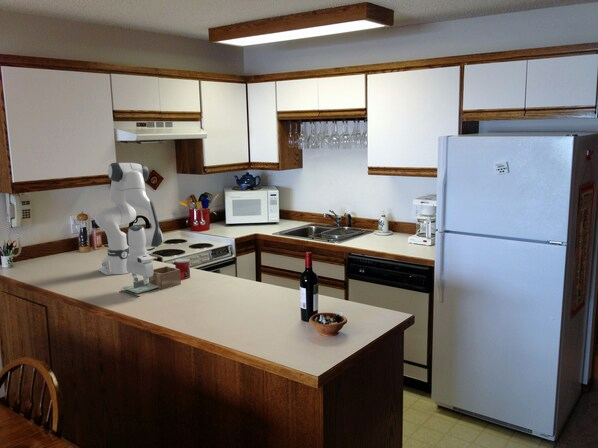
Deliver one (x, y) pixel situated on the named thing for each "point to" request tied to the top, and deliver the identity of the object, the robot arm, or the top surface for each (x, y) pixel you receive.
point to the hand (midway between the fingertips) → (140, 282)
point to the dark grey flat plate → (129, 294)
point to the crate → (165, 277)
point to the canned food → (183, 267)
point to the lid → (140, 287)
